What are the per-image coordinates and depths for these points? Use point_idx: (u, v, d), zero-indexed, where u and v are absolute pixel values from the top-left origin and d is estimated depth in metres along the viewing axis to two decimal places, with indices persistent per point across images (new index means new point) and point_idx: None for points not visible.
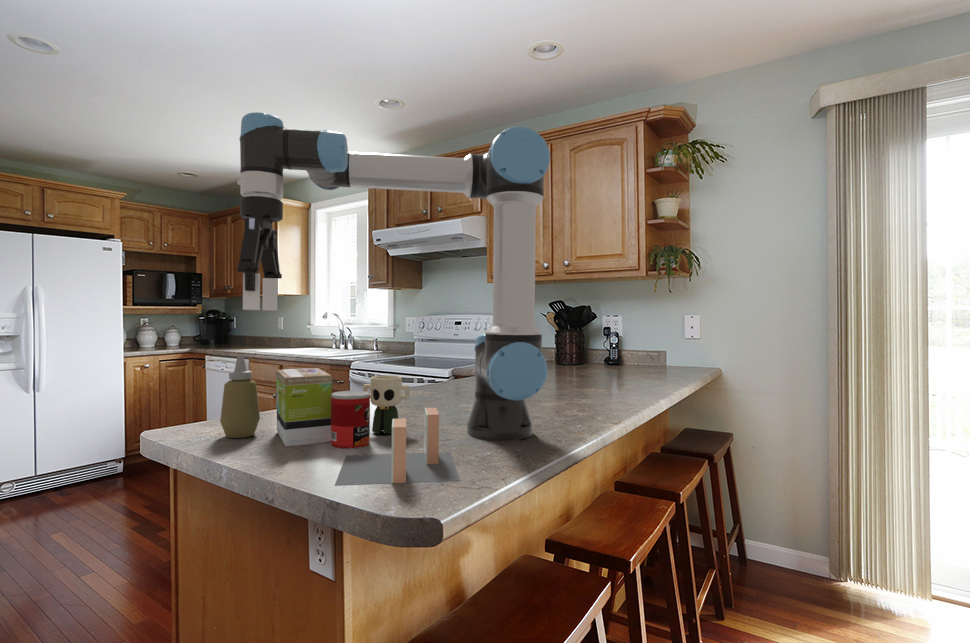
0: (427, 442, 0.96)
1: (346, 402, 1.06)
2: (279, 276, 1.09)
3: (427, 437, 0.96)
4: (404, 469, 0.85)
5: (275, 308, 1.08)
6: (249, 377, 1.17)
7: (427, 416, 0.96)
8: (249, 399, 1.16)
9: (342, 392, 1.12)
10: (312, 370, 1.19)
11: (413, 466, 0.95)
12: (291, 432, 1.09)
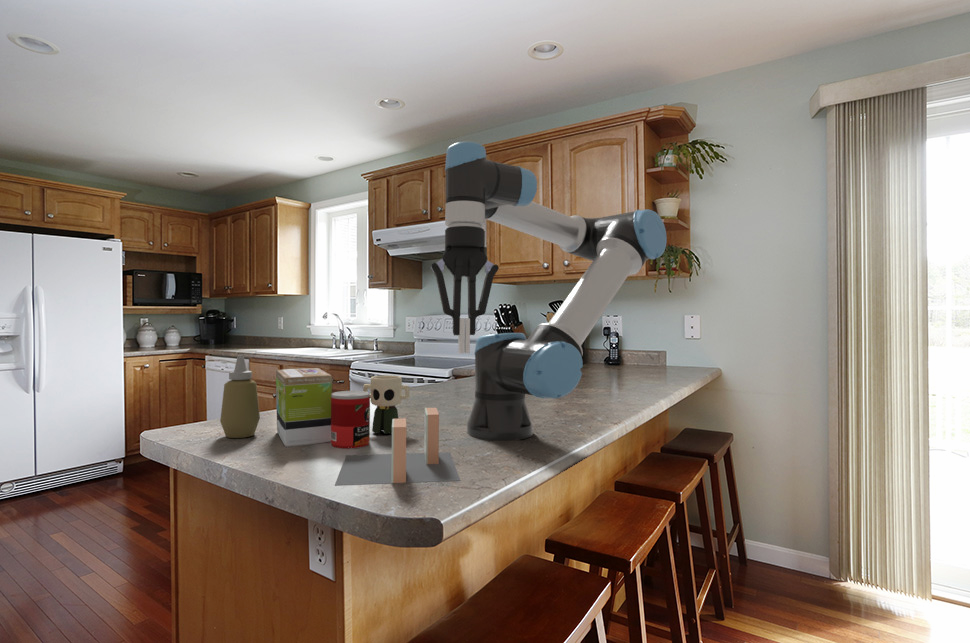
0: (427, 442, 0.96)
1: (346, 402, 1.06)
2: (471, 314, 0.99)
3: (427, 437, 0.96)
4: (404, 469, 0.85)
5: (465, 351, 0.99)
6: (249, 377, 1.17)
7: (427, 416, 0.96)
8: (249, 399, 1.16)
9: (342, 392, 1.12)
10: (312, 370, 1.19)
11: (413, 466, 0.95)
12: (291, 432, 1.09)
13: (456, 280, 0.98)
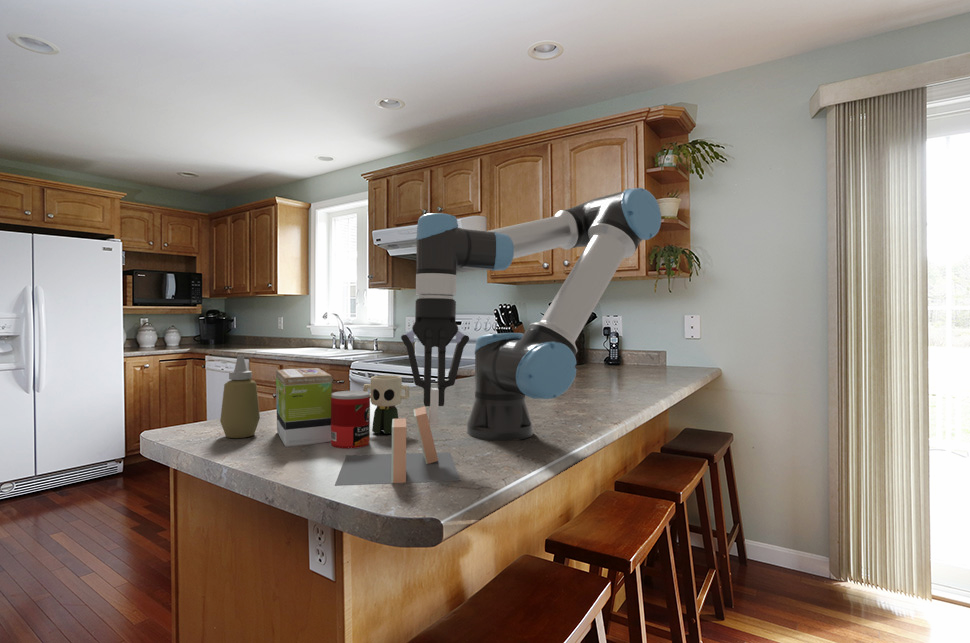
0: (422, 442, 0.96)
1: (346, 402, 1.06)
2: (440, 386, 0.98)
3: (420, 438, 0.96)
4: (404, 469, 0.85)
5: None
6: (249, 377, 1.17)
7: (415, 417, 0.95)
8: (249, 399, 1.16)
9: (342, 392, 1.12)
10: (312, 370, 1.19)
11: (413, 466, 0.95)
12: (291, 432, 1.09)
13: (426, 351, 0.97)
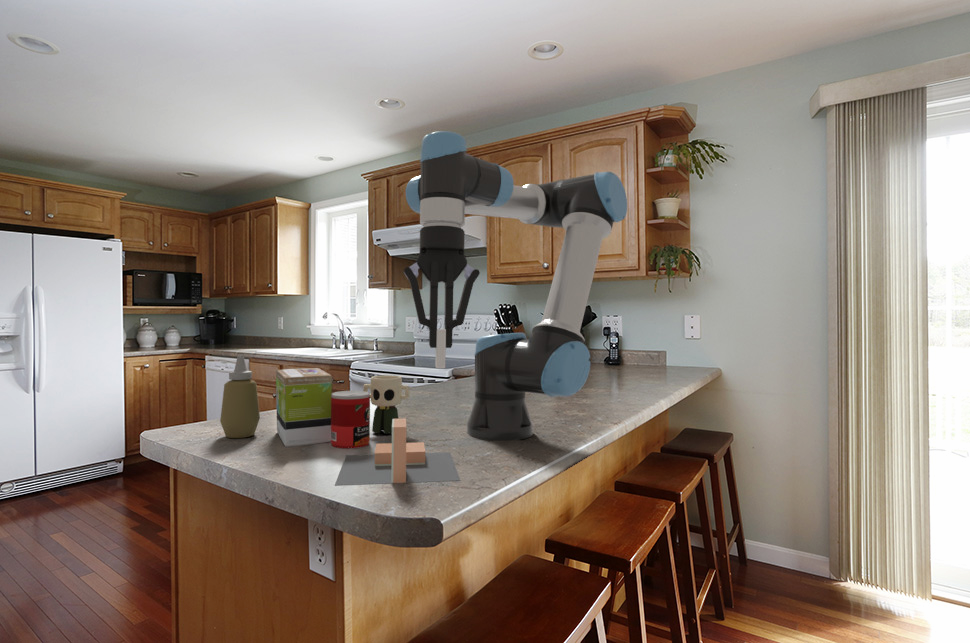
0: None
1: (346, 402, 1.06)
2: (447, 325, 0.88)
3: None
4: (404, 469, 0.85)
5: None
6: (249, 377, 1.17)
7: (376, 464, 0.94)
8: (249, 399, 1.16)
9: (342, 392, 1.12)
10: (312, 370, 1.19)
11: (413, 466, 0.95)
12: (291, 432, 1.09)
13: (432, 286, 0.88)
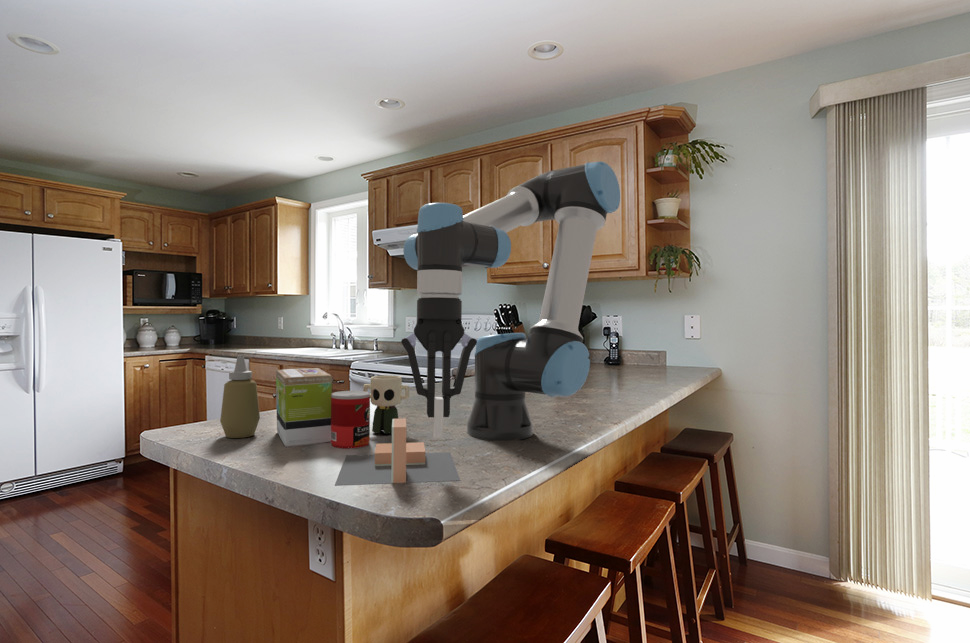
0: None
1: (346, 402, 1.06)
2: (445, 395, 0.88)
3: None
4: (404, 469, 0.85)
5: None
6: (249, 377, 1.17)
7: (376, 464, 0.94)
8: (249, 399, 1.16)
9: (342, 392, 1.12)
10: (312, 370, 1.19)
11: (413, 466, 0.95)
12: (291, 432, 1.09)
13: (429, 357, 0.88)
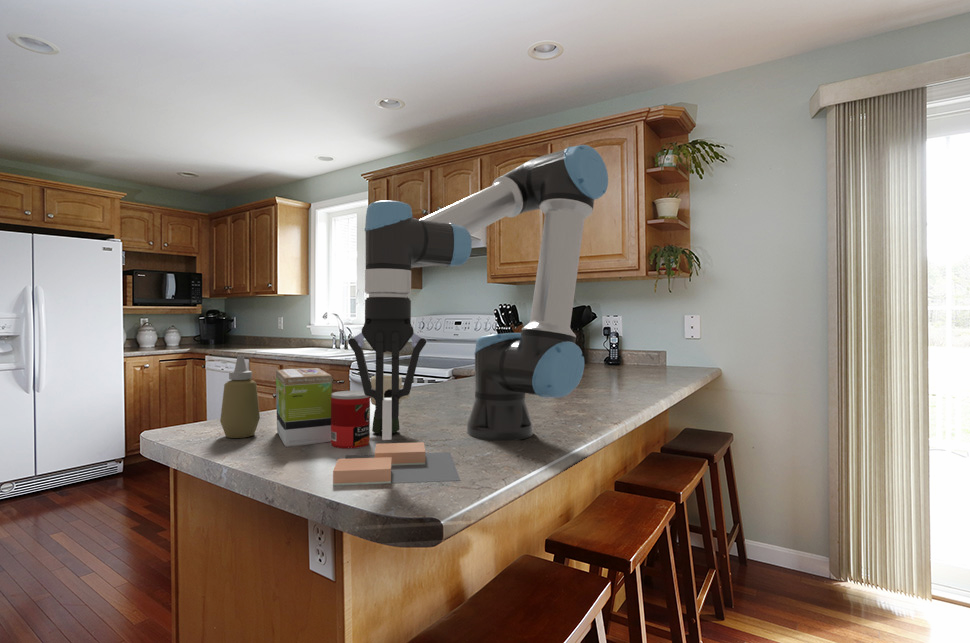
0: (403, 463, 0.95)
1: (346, 402, 1.06)
2: (393, 396, 0.87)
3: (398, 463, 0.95)
4: (377, 470, 0.85)
5: None
6: (249, 377, 1.17)
7: None
8: (249, 399, 1.16)
9: (342, 392, 1.12)
10: (312, 370, 1.19)
11: (413, 466, 0.95)
12: (291, 432, 1.09)
13: (377, 357, 0.86)
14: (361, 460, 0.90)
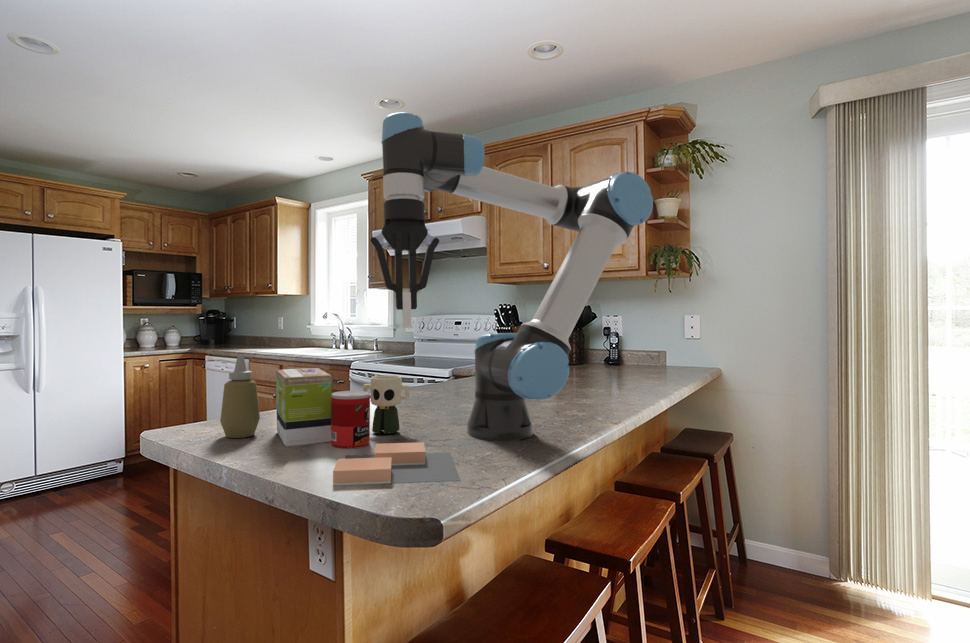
0: (403, 463, 0.95)
1: (346, 402, 1.06)
2: (412, 288, 0.98)
3: (398, 463, 0.95)
4: (377, 470, 0.85)
5: None
6: (249, 377, 1.17)
7: None
8: (249, 399, 1.16)
9: (342, 392, 1.12)
10: (312, 370, 1.19)
11: (413, 466, 0.95)
12: (291, 432, 1.09)
13: (397, 254, 0.97)
14: (361, 460, 0.90)
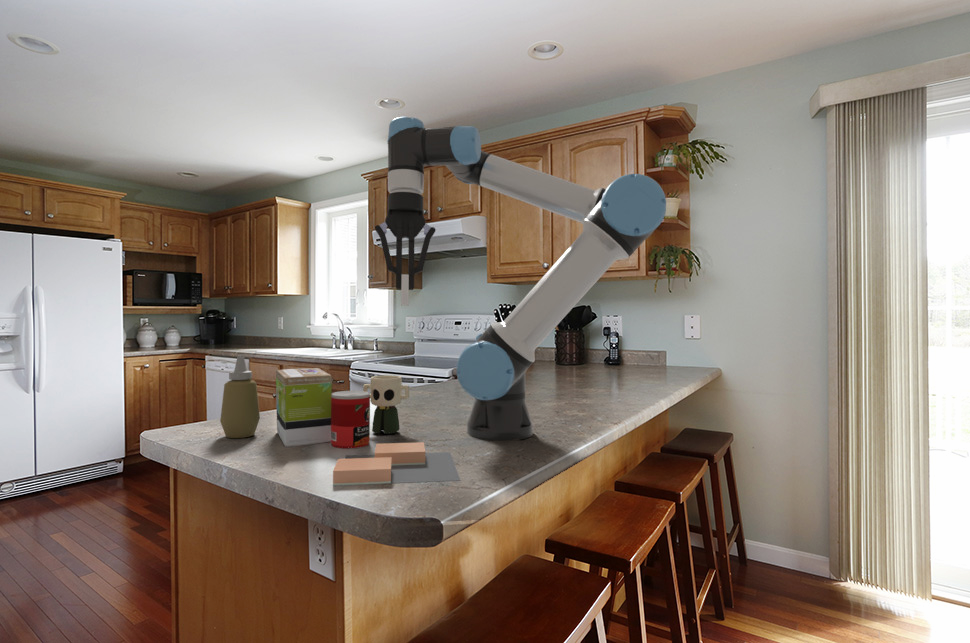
0: (403, 463, 0.95)
1: (346, 402, 1.06)
2: (410, 271, 1.11)
3: (398, 463, 0.95)
4: (377, 470, 0.85)
5: None
6: (249, 377, 1.17)
7: None
8: (249, 399, 1.16)
9: (342, 392, 1.12)
10: (312, 370, 1.19)
11: (413, 466, 0.95)
12: (291, 432, 1.09)
13: (397, 240, 1.11)
14: (361, 460, 0.90)
